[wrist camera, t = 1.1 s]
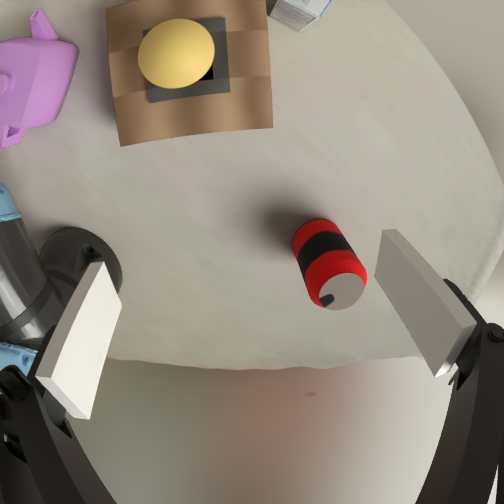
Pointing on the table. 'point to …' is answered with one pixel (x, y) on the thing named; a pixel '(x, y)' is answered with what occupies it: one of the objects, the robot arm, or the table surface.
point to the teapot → (33, 79)
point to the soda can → (328, 265)
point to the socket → (201, 92)
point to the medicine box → (298, 12)
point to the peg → (176, 53)
